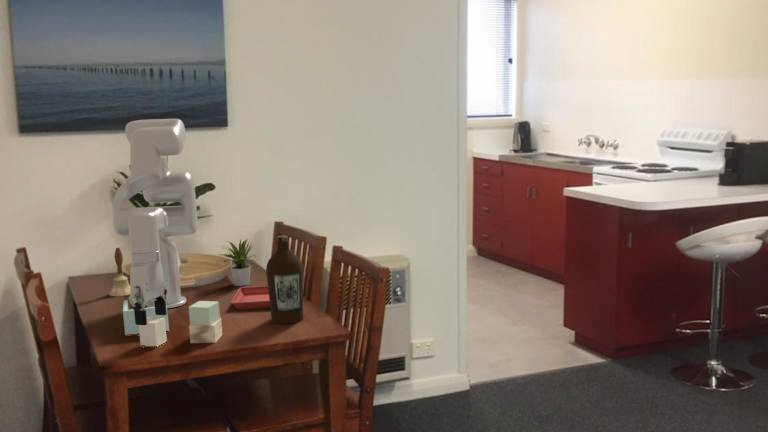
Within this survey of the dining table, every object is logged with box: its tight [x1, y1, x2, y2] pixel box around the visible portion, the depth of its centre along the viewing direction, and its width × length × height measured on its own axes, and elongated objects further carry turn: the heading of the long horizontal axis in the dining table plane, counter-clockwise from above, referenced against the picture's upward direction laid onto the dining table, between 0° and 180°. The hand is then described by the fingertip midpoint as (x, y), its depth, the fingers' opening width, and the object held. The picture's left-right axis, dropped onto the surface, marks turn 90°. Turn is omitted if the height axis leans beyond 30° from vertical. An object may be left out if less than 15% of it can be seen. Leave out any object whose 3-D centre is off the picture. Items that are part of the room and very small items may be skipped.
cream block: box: [139, 317, 168, 347], centre depth 218 cm, size 5×5×7 cm
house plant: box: [217, 238, 256, 287], centre depth 280 cm, size 14×14×16 cm
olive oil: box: [265, 235, 304, 325], centre depth 235 cm, size 11×11×25 cm
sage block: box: [188, 300, 221, 326], centre depth 221 cm, size 6×6×5 cm
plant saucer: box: [230, 285, 270, 310], centre depth 257 cm, size 18×18×3 cm
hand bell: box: [108, 247, 131, 297], centre depth 273 cm, size 8×8×16 cm
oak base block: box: [188, 317, 223, 344], centre depth 222 cm, size 7×7×5 cm
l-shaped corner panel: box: [122, 299, 170, 336], centre depth 233 cm, size 12×12×8 cm
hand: (151, 319), depth 217 cm, fingers open, 9 cm apart
